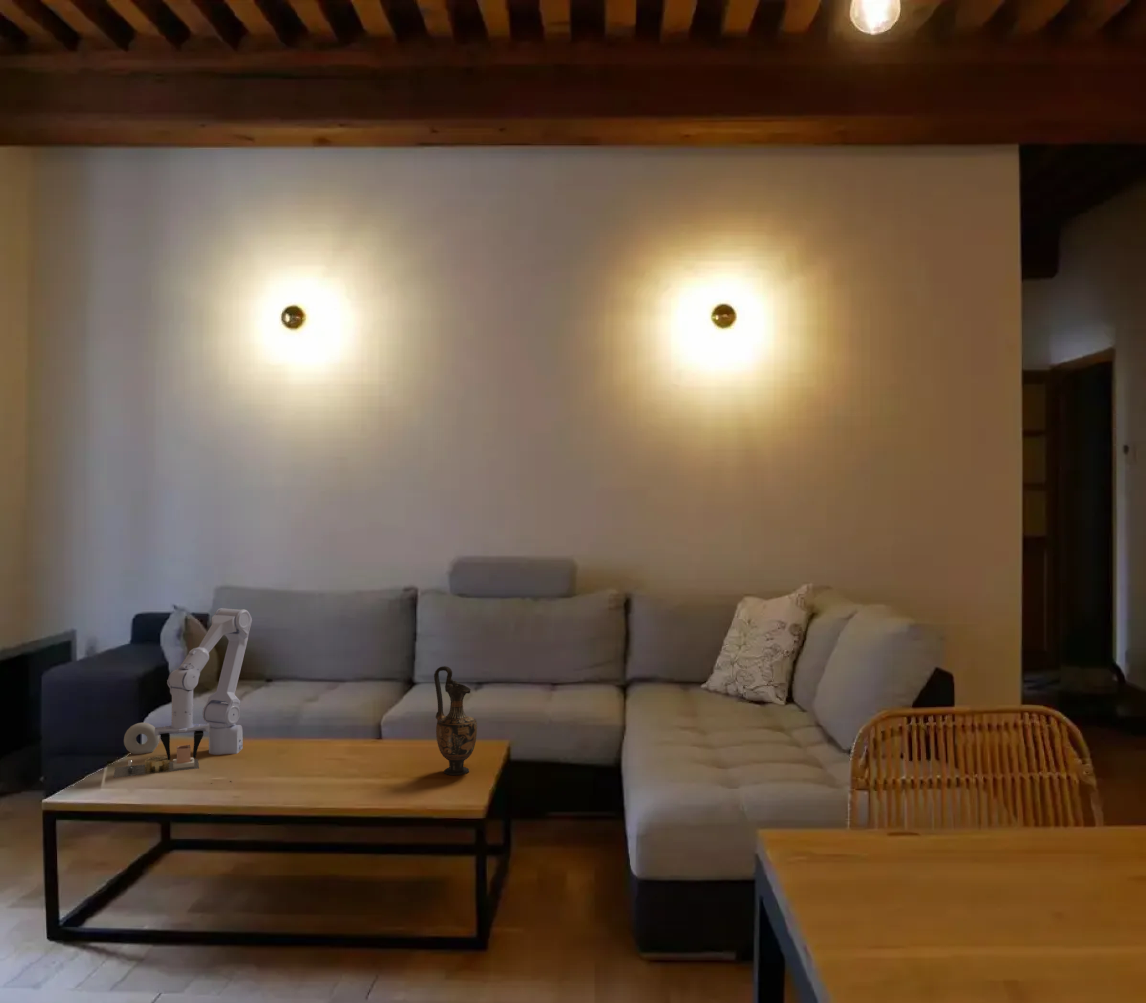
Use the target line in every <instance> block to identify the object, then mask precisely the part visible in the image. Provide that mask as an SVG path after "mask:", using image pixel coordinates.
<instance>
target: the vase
mask: <svg viewBox="0 0 1146 1003" xmlns="http://www.w3.org/2000/svg"><path fill="white" fill-rule="evenodd" d="M441 671H442V672H443V671H444V672H446V674H447V675H446V680H445V684H444V685H445V686H444V689H445V692H446V693H447V694H448V696H449V700H450V705H449V712H448V714H447V715H445V714H444V702H443V694H442V687H441V683H440V682H441V681H440V676H439V675H440V672H441ZM452 677H453V671H452V669H451V668H450V667H449V666H446V665H445V666H444V665H443V666H440V667H438V668H437V669H435V671H434V674H433V678H434V684H435V685H434V687H435V692H436V698H437V699H436V700H437V701H436V702H437V712H436V715H435V719H436V720H437V721H436V727H435V733H436V734H435V738H436V742H437V747H438V750H439V752H440V754H441V755H442V757H443V758H444V759H446V760H447V761H448V767H447V768H445V769H444V771H443V773H444V774H445V775H449V776H461V775H462V774H463V775H466V774H468V773H470V769H469V768H468V767H465V766H464V763H465V761H466V760H467V759H468V758H470V756H471V755H472V754H473V751H474V749H475V746H476V741H477V736H478V722H477V719H476V718H475V717H473V716H468V715H466V713H465V711H464V697H465V696H466V695H467V694H471V691H472V689H471V688H469V687H468V686H466V685H464V684H462V683H460V682H458V681H457V680H453V679H452ZM467 772H468V773H467ZM465 773H466V774H465Z"/></svg>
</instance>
